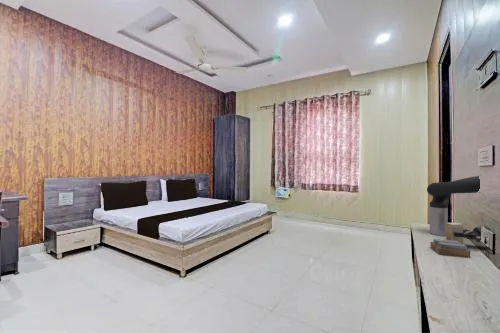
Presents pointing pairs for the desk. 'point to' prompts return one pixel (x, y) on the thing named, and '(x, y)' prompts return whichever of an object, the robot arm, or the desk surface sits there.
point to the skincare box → (454, 228)
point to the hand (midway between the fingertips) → (450, 232)
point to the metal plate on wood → (449, 248)
